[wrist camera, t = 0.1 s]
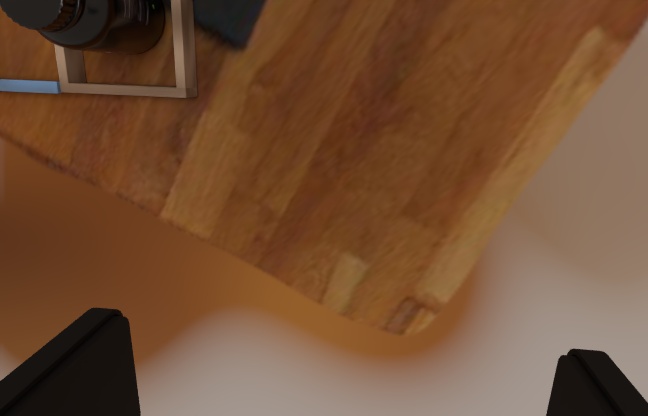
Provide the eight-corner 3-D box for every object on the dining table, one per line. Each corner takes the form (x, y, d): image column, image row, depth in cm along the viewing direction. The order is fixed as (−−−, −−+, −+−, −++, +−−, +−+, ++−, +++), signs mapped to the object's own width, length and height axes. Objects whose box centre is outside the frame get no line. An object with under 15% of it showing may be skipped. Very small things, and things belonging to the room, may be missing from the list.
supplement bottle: (113, 65, 39) (6, 60, 28) (81, -13, 38) (-47, -52, 26) (179, 41, 38) (95, 26, 27) (149, -41, 36) (46, -95, 25)
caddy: (-58, -76, 37) (-92, -88, 35) (188, -75, 35) (173, -88, 32) (-25, 87, 41) (-54, 88, 39) (197, 97, 39) (184, 99, 36)
